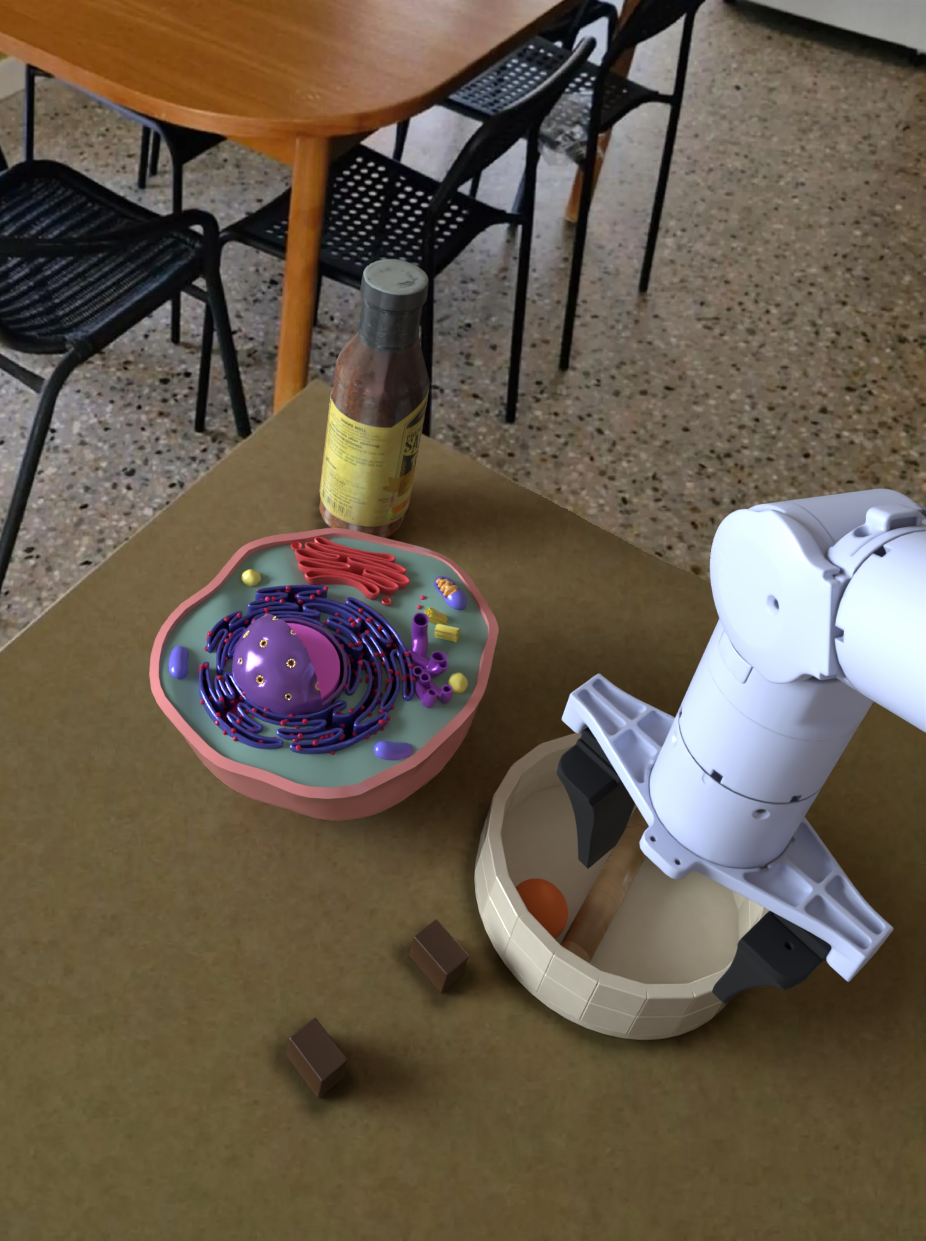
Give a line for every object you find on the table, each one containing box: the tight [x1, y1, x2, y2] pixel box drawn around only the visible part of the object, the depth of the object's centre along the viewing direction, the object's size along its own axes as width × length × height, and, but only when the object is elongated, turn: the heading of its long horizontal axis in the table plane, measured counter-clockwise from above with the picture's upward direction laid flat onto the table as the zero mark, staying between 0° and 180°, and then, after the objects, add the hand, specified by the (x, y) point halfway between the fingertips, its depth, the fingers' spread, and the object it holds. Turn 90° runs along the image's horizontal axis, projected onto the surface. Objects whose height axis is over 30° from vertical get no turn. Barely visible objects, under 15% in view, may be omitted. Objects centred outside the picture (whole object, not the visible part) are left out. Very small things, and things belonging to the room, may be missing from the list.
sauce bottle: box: [319, 258, 431, 539], centre depth 81 cm, size 7×6×20 cm
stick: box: [560, 807, 649, 963], centre depth 66 cm, size 11×2×2 cm
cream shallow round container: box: [473, 732, 770, 1041], centre depth 65 cm, size 14×14×4 cm
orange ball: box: [516, 878, 568, 939], centre depth 63 cm, size 3×3×3 cm
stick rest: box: [285, 918, 470, 1099], centre depth 60 cm, size 10×2×2 cm, turn 128°
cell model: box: [148, 527, 500, 822], centre depth 70 cm, size 17×20×11 cm
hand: (661, 915), depth 57 cm, fingers open, 7 cm apart
